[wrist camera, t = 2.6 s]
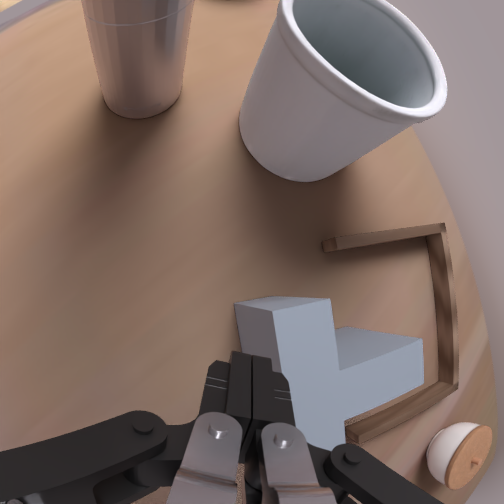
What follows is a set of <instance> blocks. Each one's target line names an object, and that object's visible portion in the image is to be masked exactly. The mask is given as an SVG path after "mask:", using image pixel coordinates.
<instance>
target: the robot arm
mask: <svg viewBox="0 0 504 504" xmlns="http://www.w3.org/2000/svg"><path fill="white" fill-rule="evenodd" d="M81 2H82V7H83V11H84V16H85V21H86V26H87V31H88V36H89V40H90V45H91V49H92V53H93V58H94V62H95V66H96V70H97V74H98V78H99V82H100V86H101V89H102V93H103V97H104V100H105V102H106V104H107V106H108V107H109V108H110V109H111V110H112V111H113V112H114V113H116V114H117V115H120V116H123V117H125V118H132V119H140V118H147V117H152V116H154V115H157V114H160V113H161V112H163V111H165V110H166V109H168V108H169V107H170V106H171V105H172V104H173V103H174V102H175V101H176V100H177V98H178V97H179V94H180V92H181V88H182V81H183V72H184V65H185V58H186V50H187V43H188V36H189V29H190V23H191V17H192V10H193V5H194V0H81ZM238 463H243V464H245V471H244V474H243V476H242V478H241V493H242V504H357V503H356V502H355V501H353V500H352V499H351V498H350V497H348V495H349V494H351V495H352V496H353V497H354V498H356V499H357V500H358V501H360V502H361V503H362V504H444V503H442V502H440V501H439V500H437V499H436V498H434V497H432V496H431V495H429V494H428V493H426V492H425V491H423V490H422V489H420V488H418V487H417V486H415V485H414V484H412V483H411V482H409V481H408V480H406V479H405V478H403V477H402V476H401V475H399V474H398V473H396V472H395V471H393V470H392V469H390V468H389V467H388V466H386V465H385V464H383V463H382V462H380V461H379V460H378V459H376V458H375V457H374V456H372V455H371V454H369V453H368V452H367V451H365V450H364V449H362V448H361V447H359V446H357V445H354V444H340V445H337V446H336V447H334V448H333V450H332V451H329V450H326V449H322V448H319V447H316V446H313V445H311V444H309V443H308V442H306V438H305V436H304V434H303V433H302V432H301V431H300V430H299V429H297V428H296V424H295V418H294V412H293V406H292V400H291V393H290V387H289V382H288V380H287V379H286V378H285V376H284V375H283V374H282V373H280V372H274V371H273V370H272V360H271V358H267V357H262V356H257V355H252V356H251V354H246V353H242V352H237V351H232V352H231V356H230V360H229V363H227V362H222V361H218V360H216V361H215V362H214V363H212V364H211V365H210V366H209V369H208V373H207V378H206V382H205V387H204V391H203V396H202V401H201V406H200V410H199V415H198V416H197V418H196V419H195V420H193V421H192V422H190V423H187V424H183V425H166V424H165V422H164V421H163V420H162V419H161V418H160V417H159V416H157V415H155V414H153V413H151V412H147V411H131V412H128V413H125V414H123V415H120V416H117V417H115V418H112V419H109V420H106V421H103V422H101V423H98V424H95V425H92V426H89V427H86V428H83V429H80V430H77V431H74V432H71V433H68V434H64V435H61V436H58V437H54V438H51V439H48V440H44V441H41V442H37V443H33V444H30V445H26V446H22V447H18V448H14V449H10V450H6V451H2V452H0V504H130V503H132V502H134V501H136V500H138V499H140V498H142V497H144V496H146V495H148V494H150V493H152V492H154V491H156V490H157V489H158V488H159V487H160V486H172V487H171V490H170V493H169V496H168V499H167V502H166V504H235V503H236V496H237V484H236V483H235V480H236V473H237V466H238Z"/></svg>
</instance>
